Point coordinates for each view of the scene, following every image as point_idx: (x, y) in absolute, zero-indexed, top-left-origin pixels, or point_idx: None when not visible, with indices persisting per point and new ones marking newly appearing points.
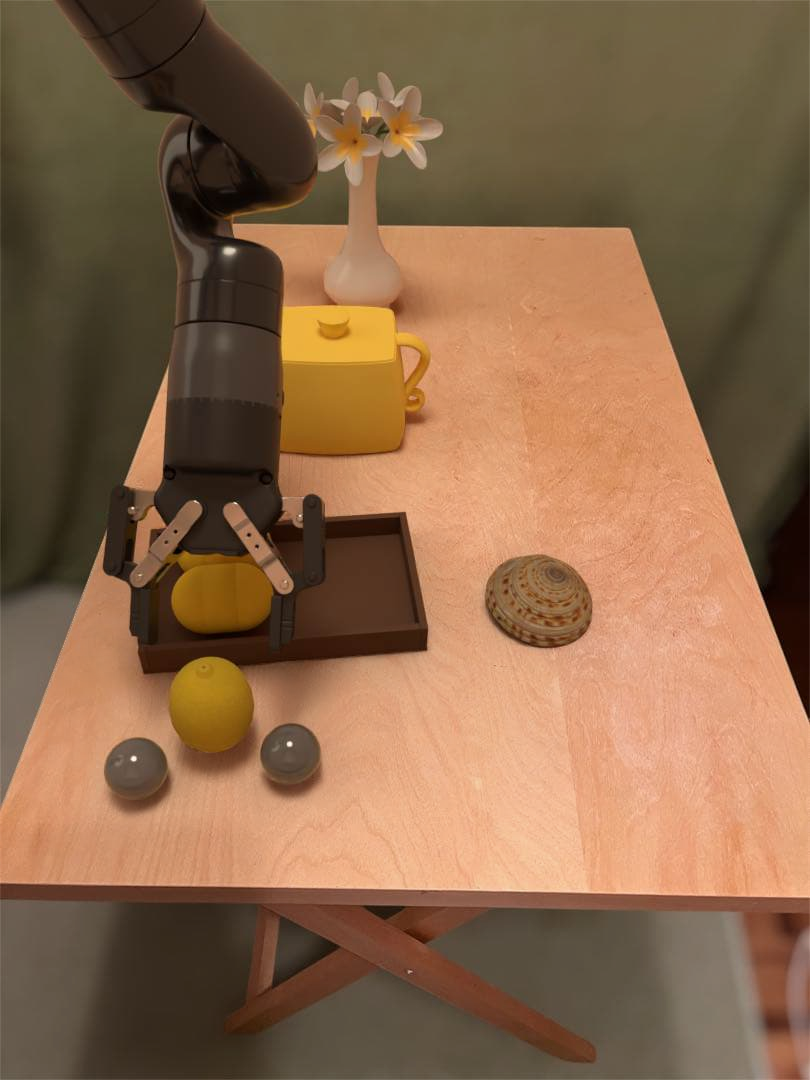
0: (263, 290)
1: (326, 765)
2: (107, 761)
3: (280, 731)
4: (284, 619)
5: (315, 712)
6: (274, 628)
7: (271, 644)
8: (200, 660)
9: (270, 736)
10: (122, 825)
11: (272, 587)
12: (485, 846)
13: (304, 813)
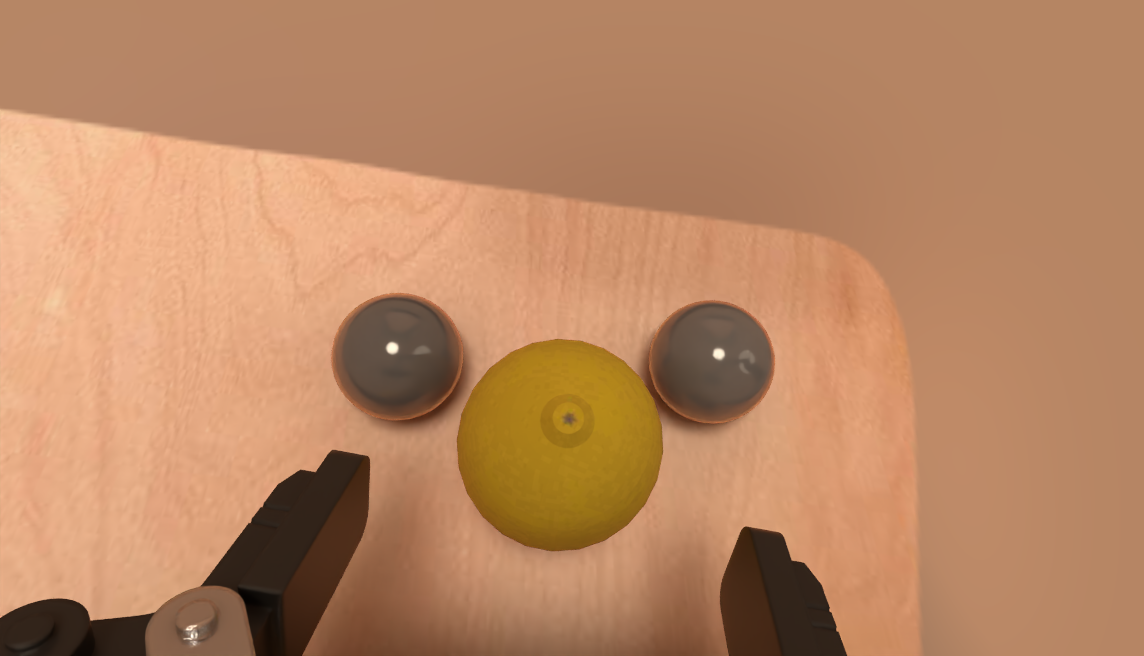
0: None
1: None
2: (771, 349)
3: (403, 356)
4: (275, 528)
5: None
6: (321, 495)
7: (351, 461)
8: (583, 476)
9: (429, 357)
10: None
11: None
12: (97, 185)
13: (399, 284)
